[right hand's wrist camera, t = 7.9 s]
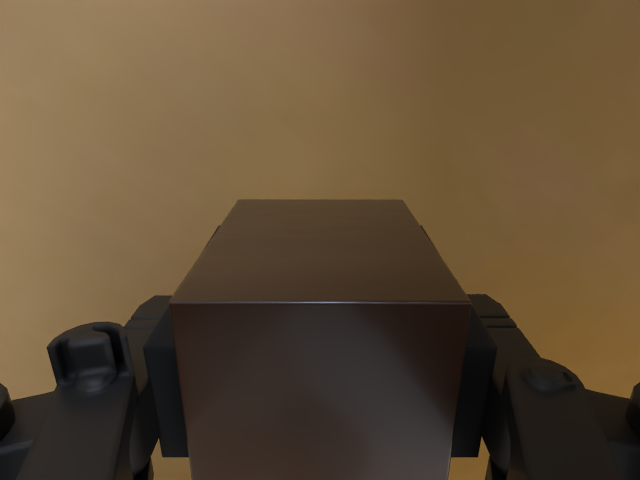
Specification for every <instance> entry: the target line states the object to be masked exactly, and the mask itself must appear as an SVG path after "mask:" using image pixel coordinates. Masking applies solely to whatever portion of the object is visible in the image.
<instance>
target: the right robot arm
mask: <svg viewBox="0 0 640 480" xmlns="http://www.w3.org/2000/svg"><path fill="white" fill-rule="evenodd" d="M219 227H220V226H218V228H217V229H216V231H215V233H216V232H217V230H218V229H219ZM420 227H421V228H422V230H423V231H424V232H425V230H424V229H423V227H422V226H420ZM215 233H214V234H213V236H214V235H215ZM425 234H426V232H425ZM426 235H427V234H426ZM213 236H212V237H213ZM212 237H211V239H212ZM427 237H428V235H427ZM428 238H429V237H428ZM211 239H210V240H211ZM429 240H430V238H429ZM430 241H431V240H430ZM209 242H210V241H209ZM209 242H208V243H209ZM431 243H432V242H431ZM432 244H433V243H432ZM207 245H208V244H207ZM207 245H206V246H207ZM433 246H434V245H433ZM434 247H435V246H434ZM205 248H206V247H205ZM435 249H436V248H435ZM203 251H204V250H203ZM437 252H438V251H437ZM201 254H202V253H201ZM439 255H440V254H439ZM466 295H467V296H468V298H469V299H470V301H471V303H472V304H471V312H470V319H469V327H468V334H467V341H466V349H465V356H464V364H463V371H462V378H461V386H460V393H459V401H458V408H457V415H456V423H455V430H454V438H453V445H452V452H451V457H478V453H479V448H480V442H481V437H482V438H483V440H484V442H485V445H486V447H487V449H488V452H489V454H490V456H489V461H488V466H487V471H486V476H485V480H640V382H639V383H638V384H637V385H635V386H634V388H633V391H632V394H631V397H630V399H628V398H623V397H618V396H613V395H609V394H604V393H599V392H595V391H591V390H587V389H585V388H584V385H583V384H582V382H581V381H580V380H579V378H578V377H577V376H576V375H575V374H574V373H573V372H571V371H570V370H569V369H567V368H566V367H564V366H562V365H560V364H558V363H555V362H553V361H551V360H547V359H543V358H541V357H540V356H539V355H538V353H537V352H536V351H535V349H534V348H533V347H532V345H531V344H530V343H529V341H528V340H527V339H526V337H525V336H524V335H523V333H522V332H521V331H520V329H519V328H517V325H516V324H515V323H514V321H513V320H512V319H511V318H510V316H509V315H508V313H507V312H506V311H505V309H504V308H503V307H502V305H501V304H500V303H498V302H497V301H495V300H493V299H492V298H490V297H489V296H487V295H486V294H466ZM171 298H172V296H154V297H152V298H151V299H149V300H148V301H146V302H145V303H143V304H142V305H140V306H139V307H138V309H137V310H136V312H135V313H134V314H133V316H132V317H131V320H129V321H128V322H127V324H126V325H125V326H124V327H123V326H121V325H120V324H117V323H112V322H94V323H89V324H84V325H80V326H77V327H75V328H72V329H70V330H67V331H65V332H64V333H62V334H61V335H59V336H57V337H56V338H54V339H53V340H52V342H51V343H50V344H49V345H48V346H47V350H48V354H49V358H50V361H51V365H52V368H53V372H54V376H55V379H56V383H57V386H56V389H55V391H53V392H49V393H45V394H41V395H36V396H31V397H26V398H22V399H17V400H12V401H11V399H10V396H9V393H8V390H7V388H6V387H4V386H3V385H2V384H1V383H0V480H153V476H154V473H153V466H152V461H151V455H152V452H153V450H154V448H155V445H156V443H157V441H158V438H159V441H160V446H161V452H162V457H189V453H188V445H187V438H186V430H185V423H184V415H183V408H182V400H181V393H180V385H179V378H178V371H177V363H176V356H175V348H174V341H173V333H172V326H171V318H170V311H169V300H170V299H171Z"/></svg>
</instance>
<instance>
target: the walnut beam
mask: <svg viewBox="0 0 640 480" xmlns="http://www.w3.org/2000/svg"><path fill="white" fill-rule="evenodd" d="M471 304H472V303H471V301H470V299H469V298H468V296H467V295H466V293H465V292H464V290H463V289H462V287H461V286H460V284H459V283H458V281H457V280H456V278H455V277H454V276H453V274H452V273H451V271H450V270H449V268H448V267H447V265H446V264H445V262H444V261H443V259H442V258H441V256H440V255H439V253H438V252H437V250H436V249H435V247H434V246H433V244H432V243H431V241H430V240H429V238H428V237H427V235H426V234H425V232H424V231H423V230H422V228H421V227H420V225H419V224H418V222H417V221H416V219H415V218H414V216H413V215H412V213H411V212H410V210H409V209H408V207H407V206H406V204H405V203H404V201H403V200H238V201H237V202H236V204H235V205H234V207H233V208H232V210H231V211H230V213H229V214H228V216H227V217H226V218H225V220H224V221H223V223H222V224H221V226H220V227H219V229H218V230H217V232H216V233H215V235H214V236H213V237H212V239H211V240H210V242H209V243H208V245H207V246H206V248H205V249H204V251H203V252H202V254H201V255H200V257H199V258H198V259H197V261H196V262H195V264H194V265H193V267H192V268H191V270H190V271H189V273H188V274H187V276H186V277H185V279H184V280H183V281H182V283H181V284H180V286H179V287H178V289H177V290H176V292H175V293H174V295H173V296H172V298H171V299H170V300H169V311H170V318H171V326H172V333H173V341H174V348H175V356H176V363H177V371H178V378H179V385H180V393H181V400H182V408H183V415H184V423H185V430H186V438H187V445H188V453H189V460H190V468H191V475H192V480H448V475H449V467H450V460H451V452H452V445H453V438H454V430H455V423H456V415H457V408H458V401H459V393H460V386H461V378H462V371H463V364H464V356H465V349H466V341H467V334H468V327H469V319H470V312H471Z"/></svg>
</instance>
